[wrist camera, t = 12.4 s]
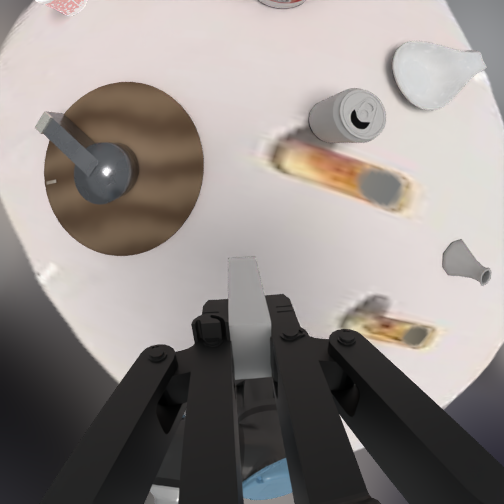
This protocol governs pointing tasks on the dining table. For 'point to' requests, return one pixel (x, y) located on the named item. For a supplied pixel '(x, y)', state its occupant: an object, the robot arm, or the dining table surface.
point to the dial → (92, 160)
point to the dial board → (150, 170)
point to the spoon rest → (433, 72)
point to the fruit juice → (282, 3)
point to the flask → (464, 263)
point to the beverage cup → (65, 5)
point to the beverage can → (348, 117)
